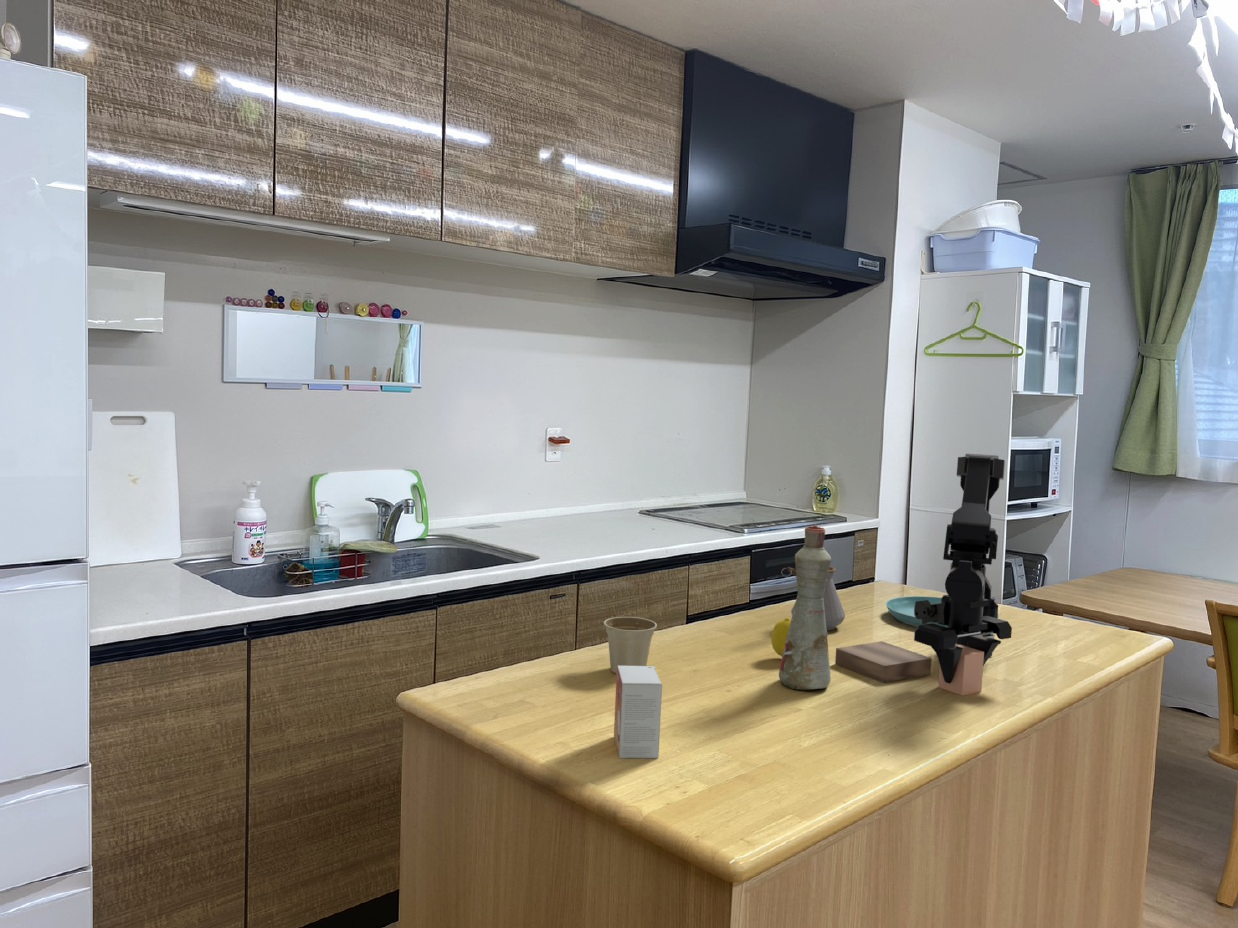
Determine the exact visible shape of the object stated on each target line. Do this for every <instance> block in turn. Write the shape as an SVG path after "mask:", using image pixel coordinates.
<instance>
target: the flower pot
mask: <svg viewBox="0 0 1238 928" xmlns="http://www.w3.org/2000/svg"><path fill="white" fill-rule="evenodd" d="M603 627H605V632H606V633H607V640H608V641H607V642H608V653H609V654H608V655H609V664H610V671H611V672H612V673H614V674H616V675H617V666H648V665H647V664H648V661H649V655H650V649H651V642H652V639H653V636H654V634H655V630H656V629H657V627H658V624H657V622H655V621H653V620H651V619H648V618H647V619H646V618H642V617H636V616H616V617H615V616H614V617H610V618H607V619H605V620H604V621H603Z"/></svg>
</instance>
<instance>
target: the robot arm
mask: <svg viewBox="0 0 1238 928" xmlns="http://www.w3.org/2000/svg"><path fill="white" fill-rule="evenodd" d="M1005 465H1006V461H1005V459H1000V458H999V455H996V454H979V453H978V454H977V453H965V455H964V456H958V457H957V466H956V477H959V478H960V482H959V484H960V488H961V490H962V492H963V495H962V500H961V501H962V502H961V506H960V507H959V508H957V509H956V510H955V511H954V512H952V513H953V514H952V518H951V523H950V524H949V523H947V525H946V533H945V540H944V551H943V556H942V557H943V559H942V560H943V561H952V562H950V567H949V568H950V569H949V571H948V574H947V577H946V578H945V582H944V586H945V587H944V588H945V592H946V593H947V594H942V597H941V598H942V599H941V603H939V604H932V605H931V604H930V602H929V601H928V600H923V601H916V602H915V607H914V615H915V617H916V618H917V619H921V622H922V624H925V625H919V626H918V627H915V628H914V634H913V641H914V642H916V643H920V644H923V645H925V646H929V647H931V648H932V650H933V651H934V652H935V655H936V657H937V660H938V663H939V668H940V667H941V671H942V674H943V678H944V681H945V682H946V683H951V682H952V680H953V677H954V674H955V671H956V668H957V665H958V662H959V659H960V656H961V653H962V650H963V648H961V647H958V646H957V645H963V646H967V647H970V648H973V649H976V650H979V651H983V652H984V661H983V667H984V666H985V664H986V663H987V661H988V659H990V657H992V656H993V653H994V651H995V649H996V648H997V647H998V646H999V645H1001V643H1002V641H1001V640H1005V639H1006V640H1008V639H1011V638H1012V633H1013V632H1012V631H1013V630H1012V625H1011V624H1010V623H1009V621H1008V620H1004V619H1000V618H999V617H998V614H999V605H998V603H997V602H996V597H994V596H993V597H992V593H993V592H992V591H993V587H992V585H991V583H990V581H989V580H988V577H987V574H986V573H987V566H986V565H990V566H991V565H993V564H992V563H993V560H997V554H998V553H997V552H998V542H999V535H998V534H997V530H996V528H993V527H992V526H991V525H992V514H990V503H991V499H992V498H993V496H994V495H995V494H996V492H997V491H998V490H999V488H1000V484H1001V483H1000V481H1003V480H1004V479H1005ZM949 549H950V551H949ZM987 555H988V557H987ZM927 622H933V623H935V622H938V624H940V625H946V626H947V628H946V627H943V626H940V625H936V624H933V623H932V624H927ZM995 635H996V637H997V638H998V639H996V637H995Z"/></svg>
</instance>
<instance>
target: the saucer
mask: <svg viewBox="0 0 1238 928" xmlns="http://www.w3.org/2000/svg"><path fill="white" fill-rule="evenodd" d="M941 599H942V597H937V596H922V595H921V596H917V595H916V596H915V595H914V596H903V597H902V596H901V597H895V598H891V599H889V600H887V601H886V603H885V606H886V608H887V610H888V612H889V613H890V614H891V616H892V617H894V618H895V619H896V620H897V621H899V622H901V623H903V624H904V625H905V624H906V625H908V626H910V627H915V628H917V627H918V626H919V625H925V624H922V622H921V619H917V618H916V617H915V615H914V607H915V602H916V601H923V600H928V601H929V602H930V604H931V605H932V604H939V603H941ZM999 617H1000V615H999V613H998V618H999ZM932 623H933V622H927V624H932ZM933 624H936V625H940V624H938V622H935V623H933ZM940 626H943V627H946V628H947V626H946V625H940Z"/></svg>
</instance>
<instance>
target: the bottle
mask: <svg viewBox="0 0 1238 928" xmlns="http://www.w3.org/2000/svg"><path fill="white" fill-rule="evenodd" d="M825 535H826V530H825V528H824V527H821V526H818V525H817V524H814V525H813V526H812V525H811V526H806V527H805V528H804V545H803V547H802V548H800V549H799V550H798V551H797V552H796V553H795V554H794V562H795V570H796V574H797V576H796V584H797V585H796V586H797V587H796V590H797V596H796V599H795V602H796V603H794V604H795V607H794V611H793V614H792V613H791V619H790V620H791V623H790V627H789V631H788V635H787V639H786V643H785V647H784V651H783V656H782V657H781V660H780V666H779V672H778V678H779V680H780V681H781V683H782V684H783V685H784V686H785V687H787V688H790V689H795V690H800V691H801V690H802V691H806V690H817V689H818V690H820V689H821V690H822V689H825V688H828V686H829V685H830V683H831V666H830V665H831V664H830V654H829V643H828V635H829V634H828V630H826V619H825V609H824V599H823V595H824V591H825V586H826V582H827V576H828V573H829V567H831V564H832V557H831V555H830V554H829V552H828V551H827V550H826V549H825V546H824V543H825V537H826V536H825Z"/></svg>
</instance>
